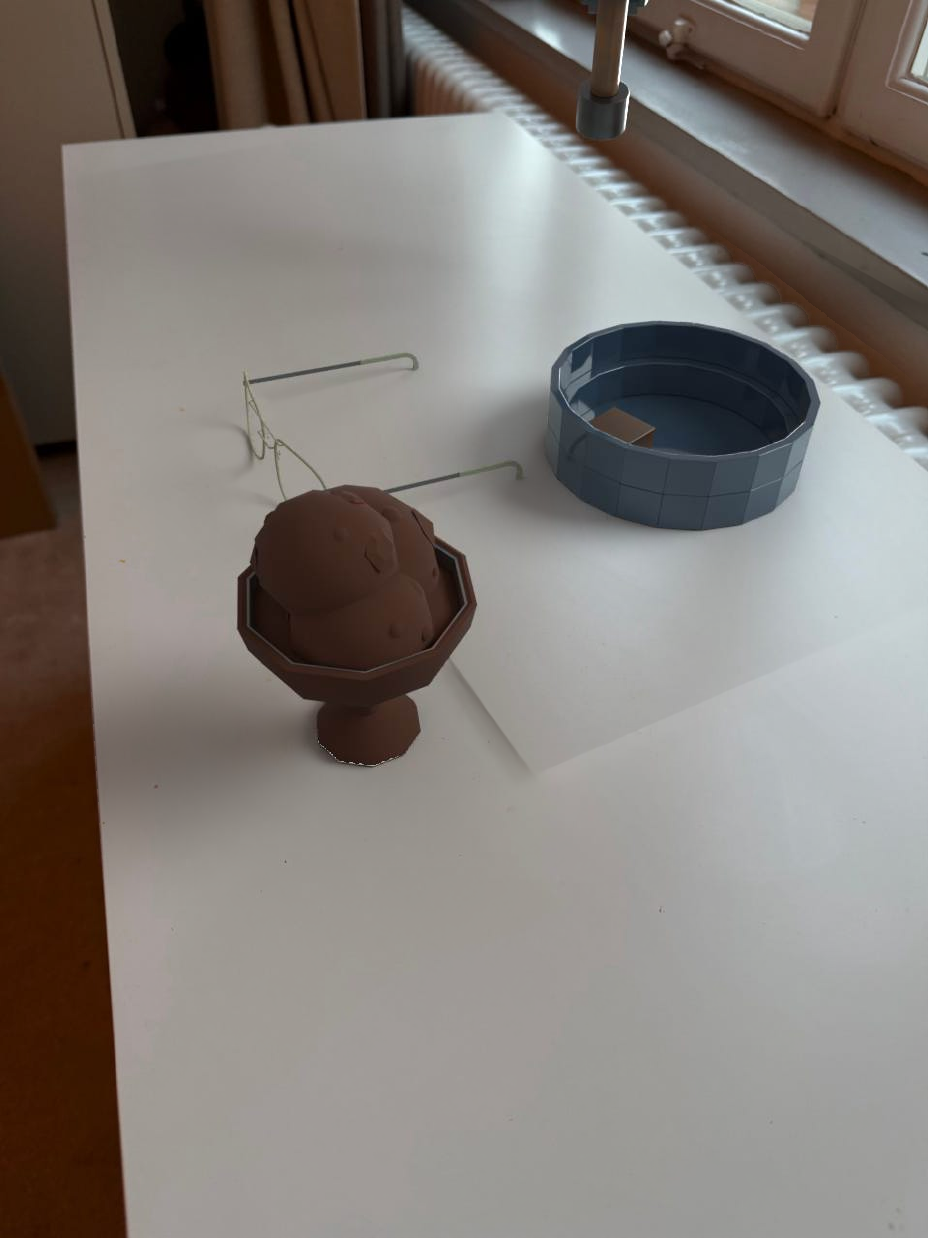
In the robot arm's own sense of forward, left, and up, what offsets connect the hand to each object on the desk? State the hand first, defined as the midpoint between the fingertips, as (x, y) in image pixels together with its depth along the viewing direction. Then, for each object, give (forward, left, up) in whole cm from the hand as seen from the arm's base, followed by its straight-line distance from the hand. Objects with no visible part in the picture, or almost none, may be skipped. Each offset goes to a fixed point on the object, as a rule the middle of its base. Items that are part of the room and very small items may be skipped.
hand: (613, 6), depth 71 cm
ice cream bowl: (+26, +43, -22) cm, 55 cm away
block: (+7, +26, -21) cm, 34 cm away
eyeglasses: (+22, +19, -22) cm, 37 cm away
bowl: (+2, +24, -22) cm, 33 cm away
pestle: (-2, -4, -10) cm, 11 cm away
